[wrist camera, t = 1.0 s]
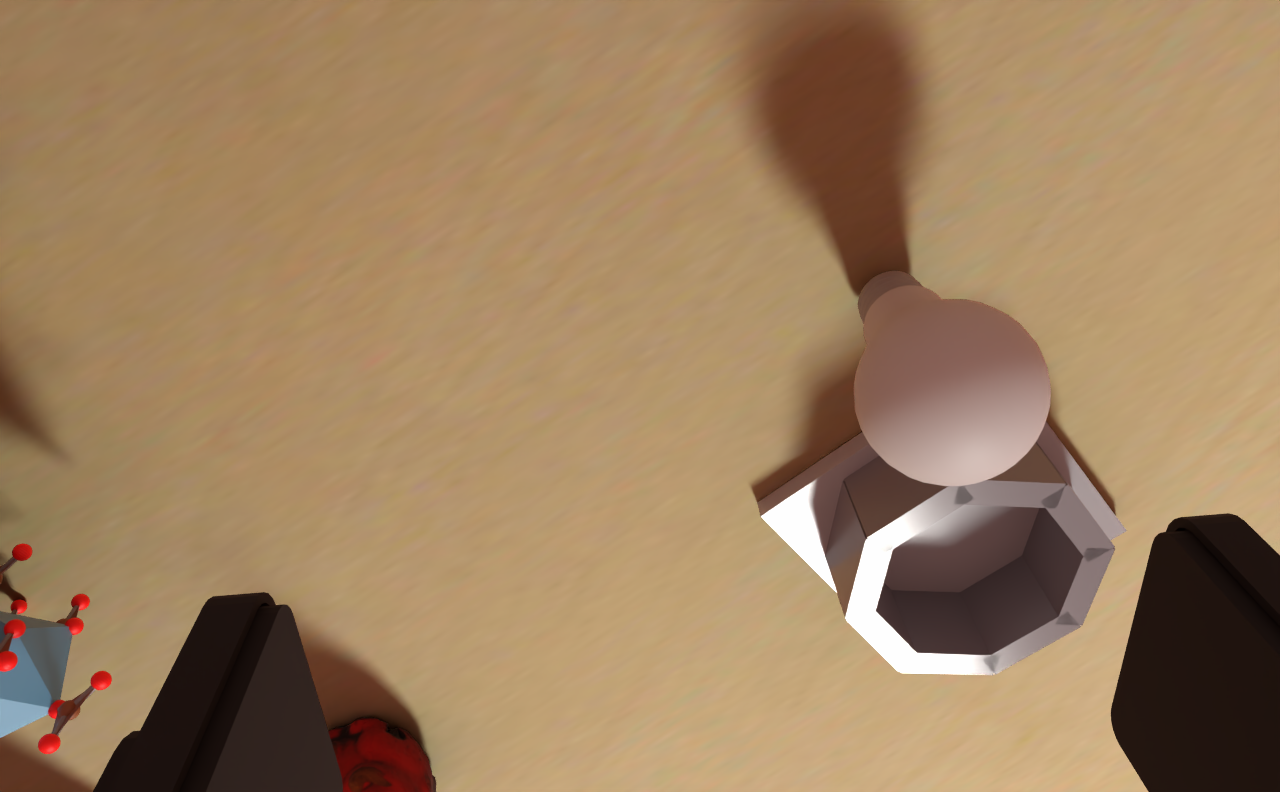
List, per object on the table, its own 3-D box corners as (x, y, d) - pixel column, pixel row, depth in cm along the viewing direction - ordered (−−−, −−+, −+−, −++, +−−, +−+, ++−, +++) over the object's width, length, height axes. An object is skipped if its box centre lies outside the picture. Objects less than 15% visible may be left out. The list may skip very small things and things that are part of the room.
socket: (989, 345, 40) (1038, 408, 35) (1116, 517, 45) (1172, 590, 40) (757, 502, 43) (776, 577, 39) (898, 645, 48) (929, 725, 44)
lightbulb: (868, 190, 36) (969, 319, 27) (992, 263, 38) (1128, 408, 28) (778, 319, 39) (840, 479, 29) (897, 381, 40) (993, 551, 31)
